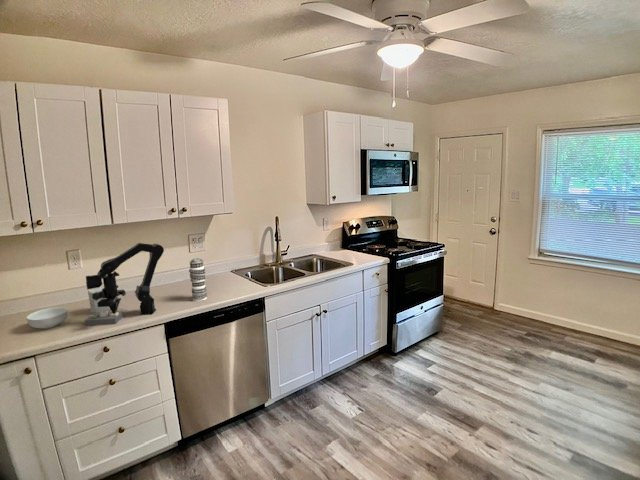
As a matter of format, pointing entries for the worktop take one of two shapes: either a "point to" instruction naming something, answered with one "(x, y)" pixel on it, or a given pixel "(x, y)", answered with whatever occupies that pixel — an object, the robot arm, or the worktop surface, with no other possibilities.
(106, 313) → the key mid
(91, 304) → the supplement box
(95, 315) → the key
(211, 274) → the worktop surface
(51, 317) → the cereal bowl
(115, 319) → the gray key socket board
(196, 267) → the decorative candle
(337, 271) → the worktop surface
